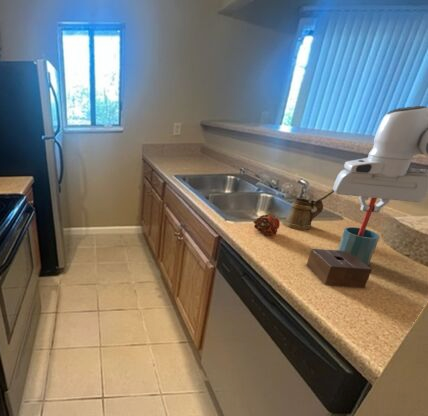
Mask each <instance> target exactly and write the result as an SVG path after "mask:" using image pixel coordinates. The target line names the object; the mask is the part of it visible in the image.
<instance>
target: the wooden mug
mask: <svg viewBox="0 0 428 416" xmlns="http://www.w3.org/2000/svg"><path fill="white" fill-rule="evenodd" d="M334 193H335V192H334V190H333V188H332V189H330V190H328V191H327V192H326V193H324V194H322V195H321V196H320V197H319V198H317V199H308V198H304V197H296V198H295V199H294V201H292V203H291V206H290V210H289V211H288V215H287V217H286V218H285V220H284V223H283V224H284V225H285V226H286V227H288V228H291V229H295V230H299V231H300V230H302V231H304V230H305V231H306V230H309V229H311V228H312V222H313V220H314V219H315V218H316V217H317V216H319V215H320V214H321V213H322V211H323V210H324V203H323V200H325V199H326V198H328V197H330V196H331V195H332V194H334ZM314 207H315V208H316V210H315V211H312V210H314V209H315V208H314Z"/></svg>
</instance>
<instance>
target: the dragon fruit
mask: <svg viewBox="0 0 428 416" xmlns="http://www.w3.org/2000/svg"><path fill="white" fill-rule="evenodd" d="M253 224H254V225H253V226H254V229H256V230H257V231H258V232H260V233H261V234H262V235H264V236H268V235H276V234H277V233H278V230H279V228H280V220H279V218H276V216H275V215H274V214H272V213H268V214H262V215H260V216H259V217H257V218H256V219H254V220H253Z"/></svg>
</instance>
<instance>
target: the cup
mask: <svg viewBox="0 0 428 416" xmlns="http://www.w3.org/2000/svg"><path fill="white" fill-rule="evenodd" d="M359 230H360V227H357V226H348V227H345V228H344V230H343V232H342V236H341V239H340V241H339V245H338V248H337V250H340V251H348V252H350V253H351V254H352V255H354V256H355V257H356V258H358V259H359V260H360V261H362V262H363V263H364V264H366V265H367V266H368V267H369V265H370V263H371V260H372V258H373V255H374V252H375V250H376V248H377V245H378V243H379V240H380V235H379V234H378V233H377V232H375V231H372V230H369V229H367V228H366V229H365V232H364V234H363V237H361V236H358V233H359Z"/></svg>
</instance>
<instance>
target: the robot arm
mask: <svg viewBox="0 0 428 416" xmlns="http://www.w3.org/2000/svg"><path fill="white" fill-rule="evenodd" d="M416 155H420V156H421V155H423V156H425V157H427V158H428V106H425V105H415V106H406V107H399V108H395V109H391V110H390V111H388V112H387V113H385V114H384V116H383V118H382V119H381V120H380V122H379V124H378V127H377V130H376V132H375V135H374V138H373V147H372V148H371V150H370V151H369V153H368V155H367V157H363V158H359V159H351V160H348V161H345V162H344V164H343V167H344V169H342V170H341V171H340V172H339V173H338V174H337V176H336V178H335V181H334V183H333V185H332V189H333V190H334V193H335V194H336V195H341V196H349V197H350V196H351V197H358V199H359V202H360V204H361V205H360V208H359V209H360V211H361V212H366V211H369V208H370V206H369V204H367V203H366V201H369V199H371V198H377V199H378V200H379V202H378V203H377V204H375V205H374V208H373V210H372V213H377V214H379V213H380V212H381V209H382V208H384V207H386V206H387V205H388V204H389V203H390V200H391V201H401V202H411V203H421V202H422V201H424V200H426V197H427V195H428V169H427V168H413V167H410V165H411V163H412V161H413V158H414V156H416Z"/></svg>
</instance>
